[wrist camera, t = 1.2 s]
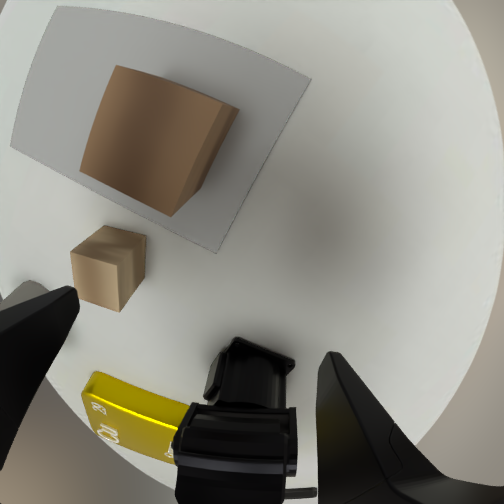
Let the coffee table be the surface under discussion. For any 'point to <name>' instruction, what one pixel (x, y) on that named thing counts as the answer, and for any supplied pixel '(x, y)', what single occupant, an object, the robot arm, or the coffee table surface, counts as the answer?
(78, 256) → the oak block
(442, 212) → the coffee table surface
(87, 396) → the element tile
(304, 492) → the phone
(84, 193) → the coffee table surface
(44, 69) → the rubber mat
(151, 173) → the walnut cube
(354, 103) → the coffee table surface
